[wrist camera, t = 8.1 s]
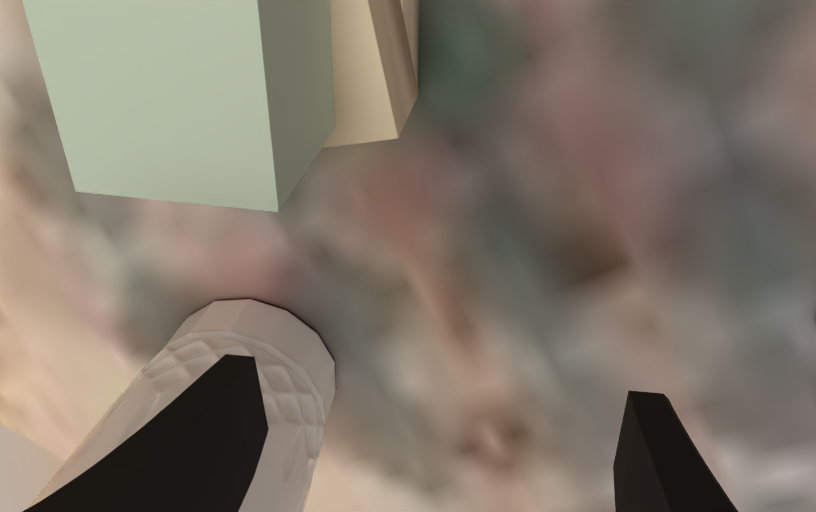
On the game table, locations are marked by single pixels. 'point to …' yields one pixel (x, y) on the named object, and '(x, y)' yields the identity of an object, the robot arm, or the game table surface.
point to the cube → (188, 95)
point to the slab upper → (370, 71)
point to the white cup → (280, 385)
